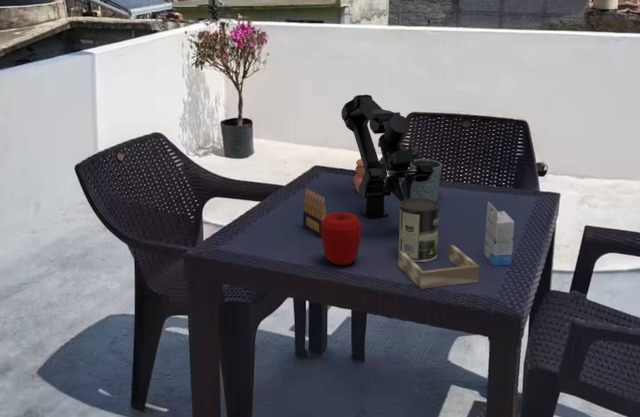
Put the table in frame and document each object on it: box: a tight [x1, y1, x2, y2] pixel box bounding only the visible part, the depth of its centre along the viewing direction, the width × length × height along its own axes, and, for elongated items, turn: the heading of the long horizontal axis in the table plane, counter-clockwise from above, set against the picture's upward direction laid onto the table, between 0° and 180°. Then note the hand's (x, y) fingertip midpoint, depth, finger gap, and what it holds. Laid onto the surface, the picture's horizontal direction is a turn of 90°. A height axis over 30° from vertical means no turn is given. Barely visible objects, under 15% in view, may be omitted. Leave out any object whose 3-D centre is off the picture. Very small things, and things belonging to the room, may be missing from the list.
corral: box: [397, 244, 481, 290], centre depth 195 cm, size 15×15×4 cm
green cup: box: [409, 158, 443, 202], centre depth 249 cm, size 10×10×12 cm
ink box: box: [483, 200, 515, 267], centre depth 201 cm, size 9×5×15 cm, turn 5°
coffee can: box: [398, 198, 441, 263], centre depth 205 cm, size 10×10×14 cm
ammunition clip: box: [302, 187, 327, 239], centre depth 222 cm, size 11×2×12 cm, turn 30°
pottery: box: [352, 158, 394, 197], centre depth 260 cm, size 18×10×10 cm, turn 17°
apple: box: [321, 211, 362, 266], centre depth 200 cm, size 10×10×14 cm
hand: (406, 202), depth 211 cm, fingers closed
